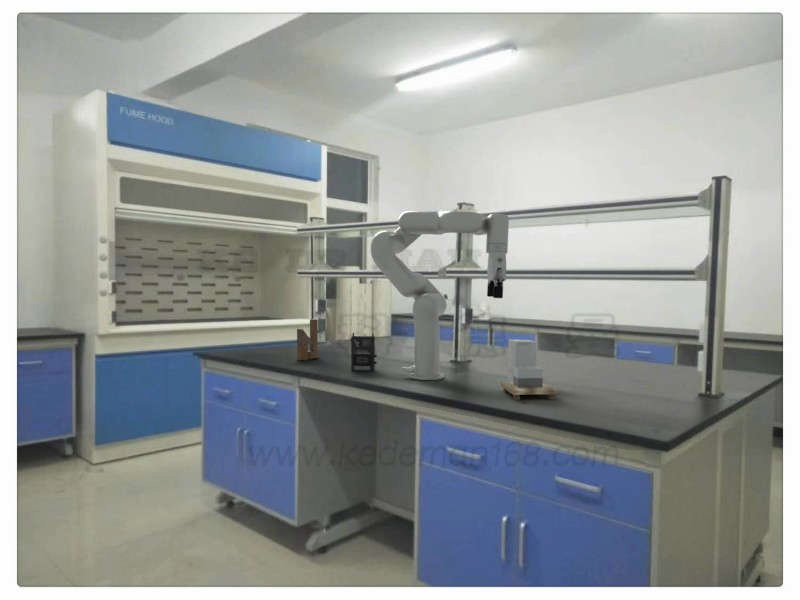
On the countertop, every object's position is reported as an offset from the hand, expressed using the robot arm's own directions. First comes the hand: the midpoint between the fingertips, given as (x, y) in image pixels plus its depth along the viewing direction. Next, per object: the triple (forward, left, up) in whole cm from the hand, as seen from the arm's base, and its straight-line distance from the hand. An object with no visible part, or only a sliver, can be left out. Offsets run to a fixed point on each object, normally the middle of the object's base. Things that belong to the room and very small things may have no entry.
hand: (494, 297), depth 200 cm
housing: (+5, -21, -28) cm, 35 cm away
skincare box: (+10, -2, -31) cm, 32 cm away
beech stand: (+5, -21, -31) cm, 38 cm away
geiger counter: (-46, +30, -31) cm, 62 cm away
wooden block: (-70, +61, -31) cm, 97 cm away
